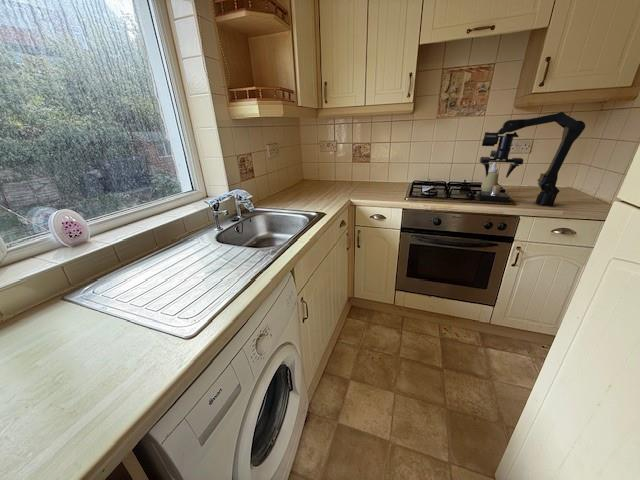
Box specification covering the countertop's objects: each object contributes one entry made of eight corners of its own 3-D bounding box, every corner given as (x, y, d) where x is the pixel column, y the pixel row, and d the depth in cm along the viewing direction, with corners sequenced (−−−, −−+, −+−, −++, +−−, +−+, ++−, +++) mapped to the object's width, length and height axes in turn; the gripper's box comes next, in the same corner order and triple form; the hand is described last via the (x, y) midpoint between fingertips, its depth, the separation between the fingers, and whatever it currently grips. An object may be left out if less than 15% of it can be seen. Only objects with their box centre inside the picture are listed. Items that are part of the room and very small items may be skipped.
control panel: (504, 198, 148) (506, 192, 146) (508, 202, 139) (509, 196, 138) (478, 196, 152) (479, 190, 151) (480, 200, 144) (481, 194, 143)
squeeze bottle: (482, 194, 156) (489, 163, 149) (478, 191, 164) (485, 161, 156) (497, 194, 155) (505, 163, 147) (492, 191, 162) (500, 161, 155)
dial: (498, 193, 146) (500, 184, 144) (499, 195, 142) (501, 186, 140) (489, 192, 147) (491, 184, 145) (490, 194, 144) (492, 185, 142)
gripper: (521, 145, 138) (513, 175, 144) (481, 145, 145) (475, 173, 151) (527, 147, 129) (518, 179, 135) (484, 146, 136) (477, 177, 142)
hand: (496, 177), depth 141 cm, fingers open, 9 cm apart
